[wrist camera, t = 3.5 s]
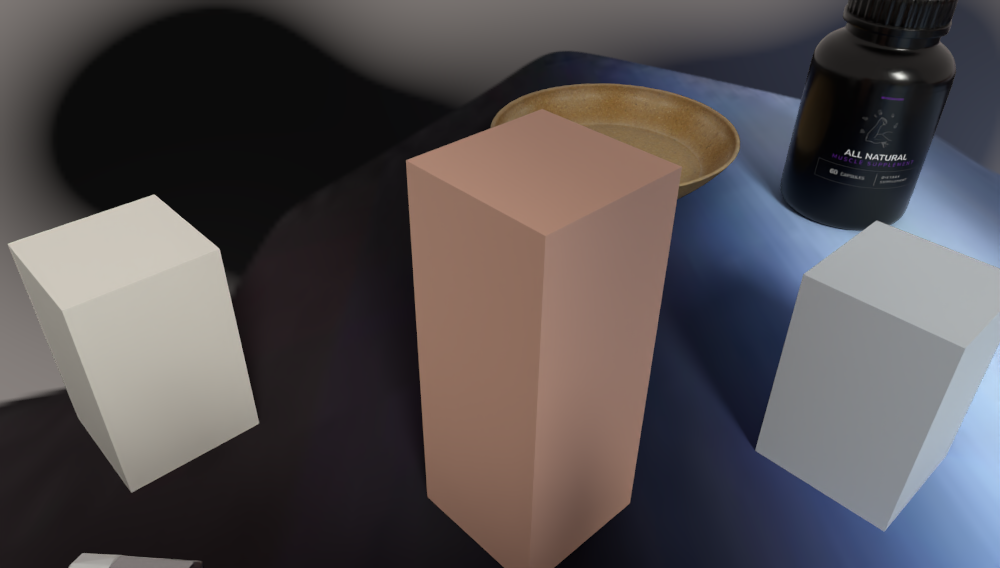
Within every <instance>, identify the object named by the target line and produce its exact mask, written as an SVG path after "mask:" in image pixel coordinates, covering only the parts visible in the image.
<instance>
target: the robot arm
mask: <svg viewBox="0 0 1000 568" xmlns="http://www.w3.org/2000/svg"><path fill="white" fill-rule="evenodd" d="M68 568H204V566H203V564H202V561H193V560H178V559H163V558H148V557H133V556H124V555H108V554H89V553H82V554H81V555H80V556H79V557H78V558H77V559H76V560H75V561H74V562H73V563H72V564H71V565H70V566H69V567H68Z"/></svg>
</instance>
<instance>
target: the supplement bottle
mask: <svg viewBox="0 0 1000 568" xmlns="http://www.w3.org/2000/svg"><path fill="white" fill-rule="evenodd" d="M957 2H958V0H849V1H848V5H846V6H845V9H844V13H843V19H844V20H845V21H846V22H847V24H846V26H845V27H843V28H840V29H838V30H835V31H833V32H831V33H830V34H828V35H827V36H826V37H824V38H823V39H822V40H821V41H820V43H819V44H818V45H817V47H816V48H815V51H814V54H813V57H812V60H811V64H810V68H809V72H808V76H807V80H806V83H805V88H804V91H803V95H802V99H801V103H800V107H799V111H798V115H797V119H796V123H795V126H794V130H793V134H792V138H791V142H790V146H789V150H788V154H787V158H786V162H785V166H784V170H783V174H782V179H781V185H780V187H781V193H782V195H783V197H784V199H785V201H786V202H787V203H788V204H789V206H790V207H792V208H793V209H794V210H795V211H797V212H798V213H800V214H801V215H803V216H805V217H807V218H809V219H811V220H814V221H816V222H819V223H822V224H825V225H828V226H832V227H837V228H842V229H849V230H864V229H866V228H867V227H868V226H870V225H871V224H872V223H874V222H875V221H879V222H882V223H884V224H887V225H891V224H893V223H895V222H896V221H897V220H899V219H900V218H901V217H902V216H903V214H904V213H905V211H906V209H907V206H908V204H909V201H910V198H911V196H912V193H913V191H914V188H915V185H916V182H917V180H918V177H919V174H920V172H921V169H922V166H923V163H924V161H925V158H926V155H927V152H928V150H929V147H930V144H931V141H932V139H933V136H934V133H935V131H936V128H937V125H938V122H939V119H940V116H941V114H942V111H943V109H944V106H945V103H946V100H947V98H948V95H949V92H950V89H951V87H952V84H953V80H954V77H955V73H956V66H955V61H954V58H953V56H952V54H951V52H950V51H949V50H948V49H947V48H946V47H945V46H944V45H943V44H942V43H941V42H940V38H941V37H942V36H944V35H946V34H947V33H948V32H949V30H950V27H951V24H952V21H951V19H952V16H953V14H954V11H955V8H956V5H957Z"/></svg>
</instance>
